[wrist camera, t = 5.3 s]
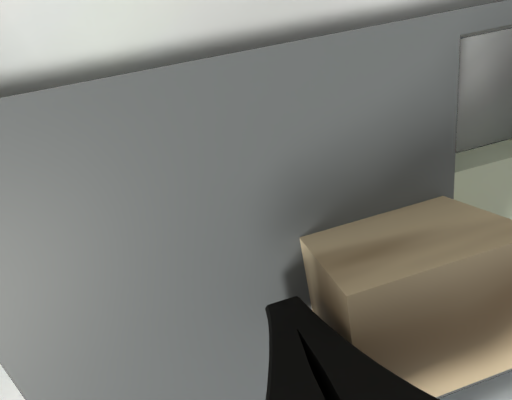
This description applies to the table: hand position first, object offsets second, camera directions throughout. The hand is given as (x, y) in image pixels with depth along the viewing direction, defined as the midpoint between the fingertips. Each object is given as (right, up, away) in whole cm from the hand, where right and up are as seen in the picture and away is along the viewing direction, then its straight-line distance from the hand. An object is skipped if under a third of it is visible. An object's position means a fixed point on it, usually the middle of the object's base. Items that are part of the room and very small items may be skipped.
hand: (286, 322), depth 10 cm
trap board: (+3, +2, +3) cm, 4 cm away
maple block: (+4, +2, +1) cm, 4 cm away
